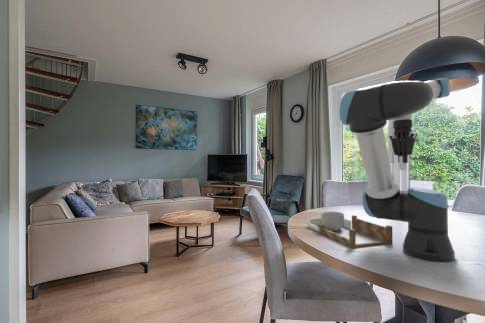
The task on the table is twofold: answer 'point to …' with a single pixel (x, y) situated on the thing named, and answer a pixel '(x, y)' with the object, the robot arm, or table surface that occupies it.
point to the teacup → (332, 220)
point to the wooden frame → (362, 227)
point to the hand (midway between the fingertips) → (402, 169)
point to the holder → (317, 221)
